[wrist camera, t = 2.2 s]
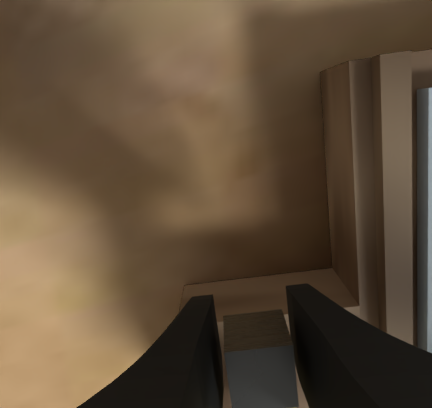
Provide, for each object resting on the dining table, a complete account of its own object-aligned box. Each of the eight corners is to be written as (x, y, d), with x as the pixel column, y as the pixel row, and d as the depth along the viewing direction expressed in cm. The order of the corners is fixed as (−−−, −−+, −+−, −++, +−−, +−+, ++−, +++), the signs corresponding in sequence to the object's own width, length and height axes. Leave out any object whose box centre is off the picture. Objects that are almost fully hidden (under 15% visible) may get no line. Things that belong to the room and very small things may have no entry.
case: (573, 379, 16) (671, 453, 13) (206, 417, 17) (202, 497, 13) (613, 31, 13) (762, 0, 9) (152, 95, 13) (128, 89, 10)
